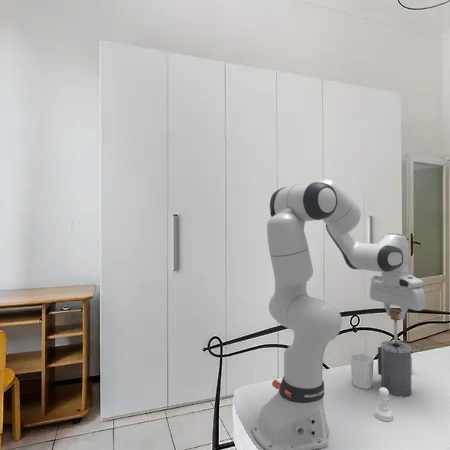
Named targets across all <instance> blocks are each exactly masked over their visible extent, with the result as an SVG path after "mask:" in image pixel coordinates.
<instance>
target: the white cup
mask: <svg viewBox="0 0 450 450" xmlns="http://www.w3.org/2000/svg"><path fill="white" fill-rule="evenodd" d="M374 359H375V358H373V357H372V356H370V355H368V354H364V353H363V354H362V353H353V354H351V355H350V369H351V370H350V371H351V381H352V384H353V386H354V387H356V388H359V389H362V388H363V390H368V388H369V389H372V387H373V378H374Z"/></svg>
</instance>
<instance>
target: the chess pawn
mask: <svg viewBox="0 0 450 450" xmlns="http://www.w3.org/2000/svg"><path fill="white" fill-rule="evenodd" d="M378 393H379V396H378V398H379V400H380V404H378V407H376V408H375V410H374V413H375V414H374V415H375V417H376V418H377V419H378V420H380V421H382V422H392V421H393V420H394V412H393V411H392V410H391V409H390V406H389V405H388V401H389V400H390V398H389V395H390V394H389V391H388V390H387V389H386V388H384V387H380V388H379V389H378Z"/></svg>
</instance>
